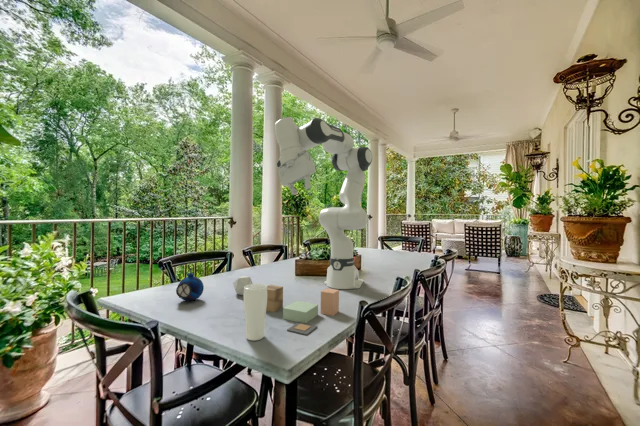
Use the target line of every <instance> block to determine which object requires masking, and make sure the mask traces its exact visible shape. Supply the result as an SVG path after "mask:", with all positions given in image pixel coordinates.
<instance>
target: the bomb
mask: <svg viewBox="0 0 640 426" xmlns="http://www.w3.org/2000/svg"><path fill="white" fill-rule="evenodd" d="M190 267H191V266H190V264H187V268H188V269H189V273H188V274H187V276H186V277H183V279H182V280H181V281H180V282H179V283H178V284H177V287H176V288H175V292H176V295H177V297H178V298H179V299H181V300H183V301H185V302H193V301H195V300H198V299H199V298H200V297H201V296H202V295H203V292H204V289H205V288H204V283H203V281H202V280H201V279H200V278H199V277H198V276H194V273H192V269H191V268H190Z"/></svg>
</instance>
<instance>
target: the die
mask: <svg viewBox="0 0 640 426" xmlns="http://www.w3.org/2000/svg"><path fill="white" fill-rule="evenodd" d="M232 284H233V288H234V290H235V294H236V295H239V296H242V297H244V287H245V286H246V285H249V284H254V283H253V281H252V278H251V276H247V275H241V276H240V277H238V278H237V279H236V280H235V281H233V283H232Z"/></svg>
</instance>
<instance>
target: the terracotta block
mask: <svg viewBox="0 0 640 426" xmlns="http://www.w3.org/2000/svg"><path fill="white" fill-rule="evenodd" d="M339 302H340V289H335V288H330V287H328V288H325V289H323V290H321V291H320V314H323V315H327V316H334V315H336V314H337V313H339V308H340V303H339Z"/></svg>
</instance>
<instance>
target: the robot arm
mask: <svg viewBox="0 0 640 426" xmlns="http://www.w3.org/2000/svg"><path fill="white" fill-rule="evenodd" d="M274 133H275V138H276V142H277V145H278V146H279V153H280V156H279V159H278V160H277V162H276V163H275V165H276V166H275V167H276V169H278V171H277V172H278V178H279V181H280V184H281V186H282V187H288V189H289V190H290V191H291V195H292V196H293V195H297V194H298V189H296V188H295V183H297V182H299V181H301V180H305V181H304V189H305V190H308V189H311V179H312V177H311V176H312V175H313V174H315V173H316V171H317V170H316V166H315V163H314V160H313V158H312V156H311V155H310V152H309V150H311V149H313V148H315V147H317V146H319V145H321V146H322V148H323V150H324V151H325V152H326V153H328V154H331V155H332V157H331V165H332V167H333V168H334V170H336V171H339V172H343V171H347V174H346V175H345V177H344V180H343V182H342V185H341V188H340V191H339V194H338V197H339V200H340V202H341V203H342V204H343V205H344V206H342V207H339V206H337V207H336V206H333V207H332V206H331V207H326V208H323V209H321V210H320V212H319V215H318V222H319V224H320V226H321V227H322V228H324V229H323V230H325V231H326V233H327V235H328V238H329V242H330V257H329V266H328V267H327V269H326V272H327V273H326V280H324V281H323V284H324V285H326V286H327V287H328V288H330V289H335V290H351V289H360V288H361V287H362V285H363V284H364V279H362V278H360V271H359V270H358V268H357V267H356V266H355V262H356V256H354V242H353V240H352V239H351V238H350V237H348V236H347V235H346V234H345V231H344V230H348V231H349V230H350V231H357V230H362V229H365V227H366V226H367V224H368V220H369V217H368V214H367V211H366V210H365V209H364V208H363V206H361V198H362V194H363V190H364V187H365V181H366V174H365V172H366V171H367V170H368V169H369V167H370V166H371V164H372V161H373V153H372V151H371V150H370V148H369V147H367V146H359V147H354V143H355V142H354V138H353V136H351V134H349V133H347V132H344V131H343V130H342V129H341V128H339V127H338V126H335V125H332V124H329V123H327V121H325V120H323V119H321V118H318V117H314V118H313V119H311V120H310V121H309V122H307V123H305V124H303V125H302V126H298V125H297V124H296V123H295V121H294V119H293V117H291V116H284V117H282V118H280V119H279V120H277V121H276V122H275V123H274Z"/></svg>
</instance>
